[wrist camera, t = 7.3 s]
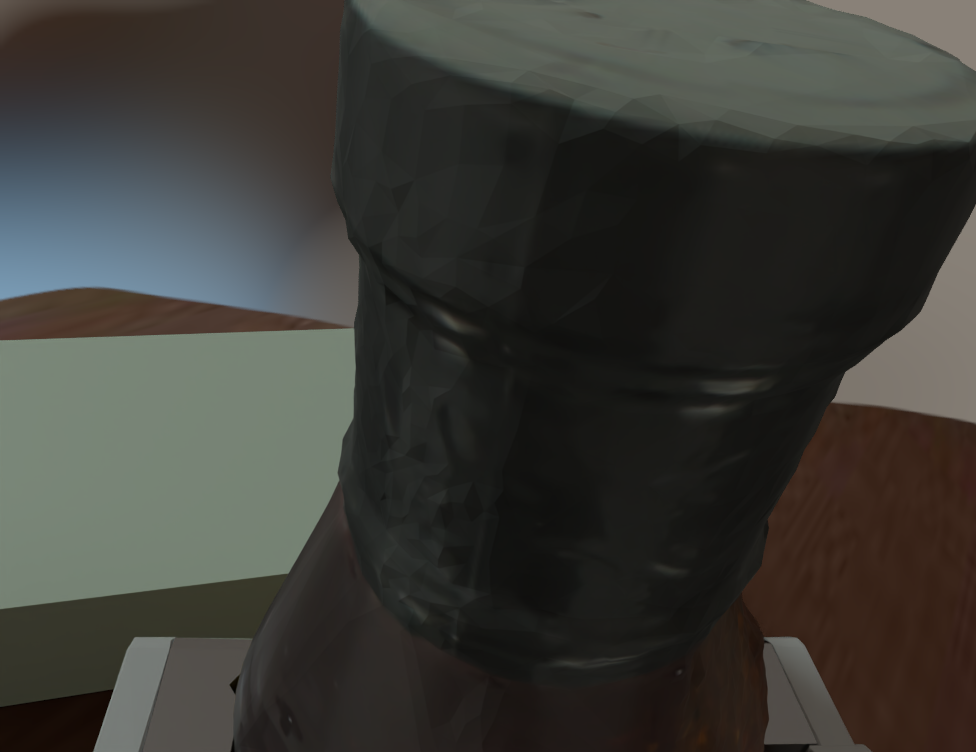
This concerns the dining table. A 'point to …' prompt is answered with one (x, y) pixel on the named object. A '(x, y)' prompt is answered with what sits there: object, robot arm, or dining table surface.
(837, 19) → the sauce bottle
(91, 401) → the pale green rectangular block
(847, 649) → the dining table surface
